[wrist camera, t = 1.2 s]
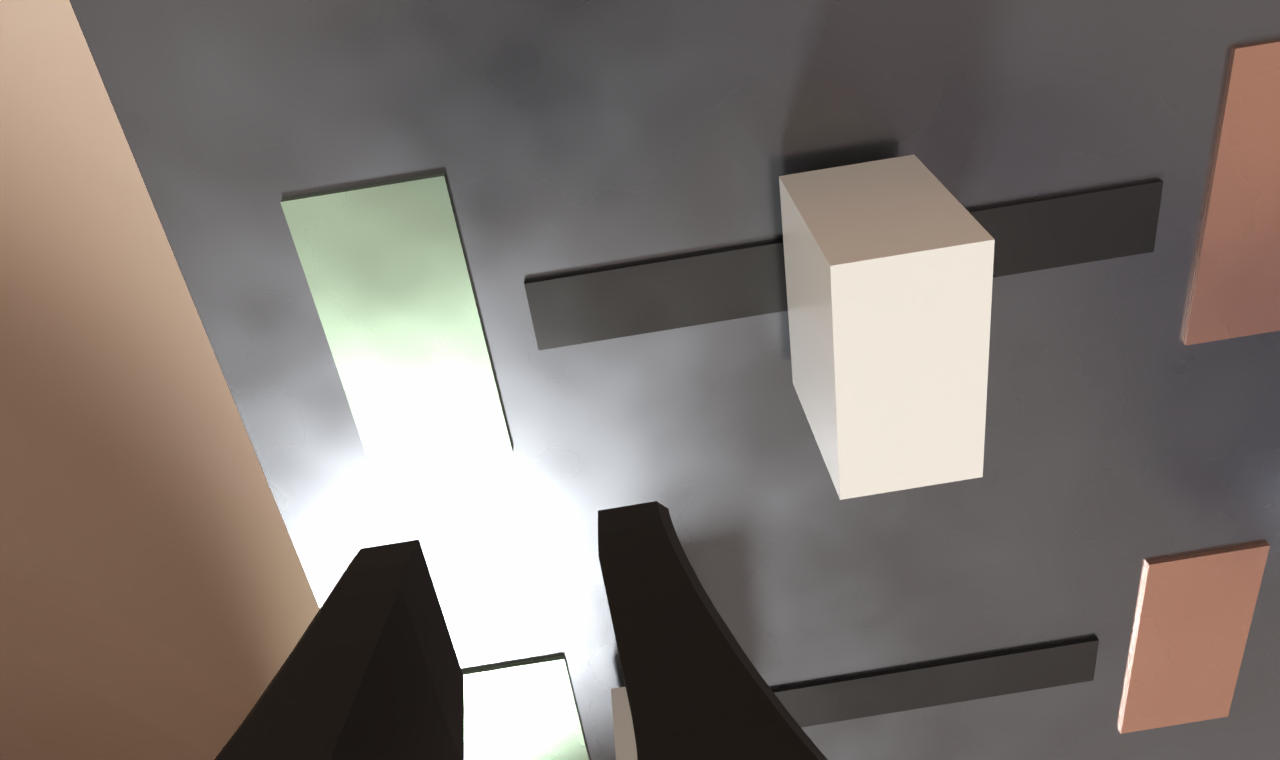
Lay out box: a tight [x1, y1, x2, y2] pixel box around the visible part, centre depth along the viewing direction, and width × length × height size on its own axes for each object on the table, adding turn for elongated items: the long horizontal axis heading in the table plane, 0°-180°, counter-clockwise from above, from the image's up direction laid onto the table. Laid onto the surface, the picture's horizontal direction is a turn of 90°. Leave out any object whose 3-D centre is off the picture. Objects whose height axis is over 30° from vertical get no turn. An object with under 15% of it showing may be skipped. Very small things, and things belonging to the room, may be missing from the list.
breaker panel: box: [70, 0, 1280, 760], centre depth 20 cm, size 20×24×2 cm
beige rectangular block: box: [779, 155, 995, 500], centre depth 15 cm, size 2×4×3 cm, turn 8°
